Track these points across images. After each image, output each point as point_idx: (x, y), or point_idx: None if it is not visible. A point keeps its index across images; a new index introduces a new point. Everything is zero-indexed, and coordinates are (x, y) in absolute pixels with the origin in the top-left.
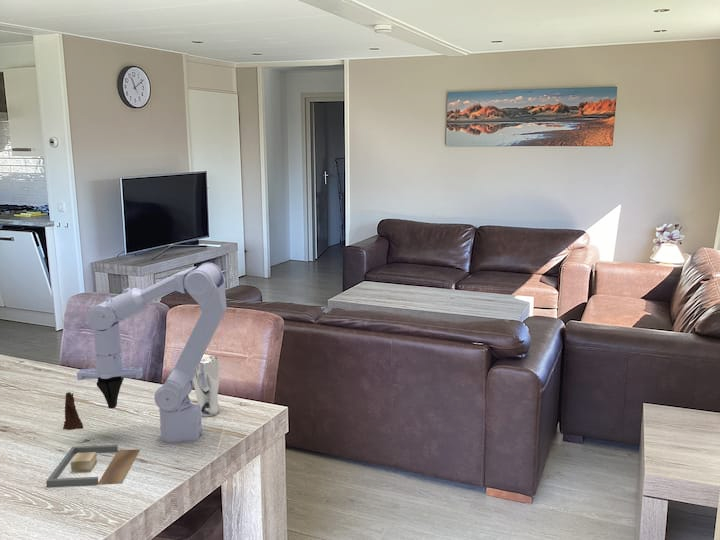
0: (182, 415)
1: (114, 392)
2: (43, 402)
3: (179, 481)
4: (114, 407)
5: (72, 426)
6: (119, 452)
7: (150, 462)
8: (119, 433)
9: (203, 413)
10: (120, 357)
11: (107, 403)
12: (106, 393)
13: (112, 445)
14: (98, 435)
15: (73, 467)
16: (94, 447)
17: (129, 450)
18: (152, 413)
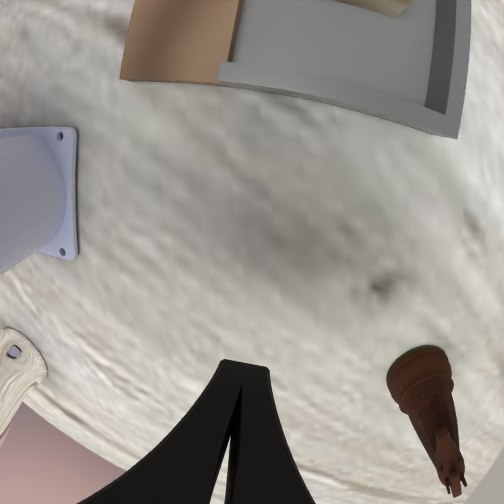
0: None
1: (154, 471)
2: (436, 481)
3: None
4: (221, 362)
5: (430, 369)
6: (212, 58)
7: (95, 17)
8: (251, 314)
9: (15, 339)
10: None
11: (272, 396)
12: (260, 485)
13: (244, 78)
14: (337, 319)
15: None
16: (346, 83)
17: (165, 71)
18: (163, 411)
